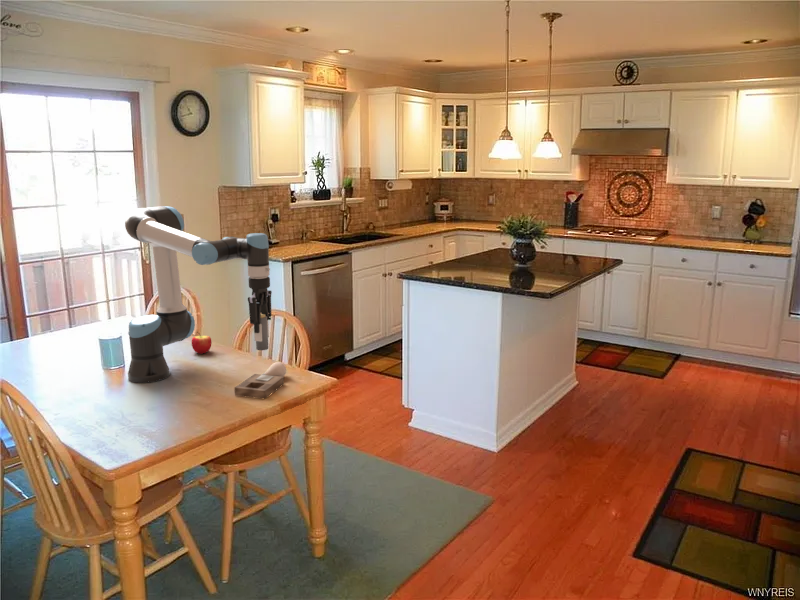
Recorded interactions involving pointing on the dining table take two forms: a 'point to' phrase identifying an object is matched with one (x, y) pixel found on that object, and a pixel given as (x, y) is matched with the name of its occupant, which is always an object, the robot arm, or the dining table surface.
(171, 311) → the robot arm
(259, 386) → the wooden socket board
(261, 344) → the plug
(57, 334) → the dining table surface
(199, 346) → the apple
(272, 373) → the light bulb
